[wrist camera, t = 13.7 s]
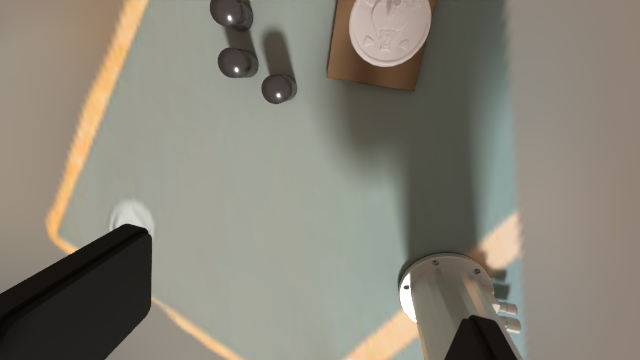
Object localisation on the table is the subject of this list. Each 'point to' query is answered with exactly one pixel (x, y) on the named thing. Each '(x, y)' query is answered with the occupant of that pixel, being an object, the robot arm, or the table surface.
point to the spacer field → (247, 52)
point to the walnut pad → (356, 69)
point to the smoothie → (389, 29)
